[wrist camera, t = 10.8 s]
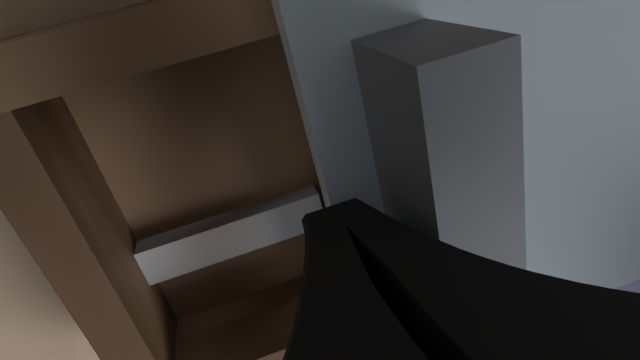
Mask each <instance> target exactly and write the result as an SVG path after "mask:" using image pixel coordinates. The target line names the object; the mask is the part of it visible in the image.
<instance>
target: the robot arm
mask: <svg viewBox="0 0 640 360" xmlns="http://www.w3.org/2000/svg"><path fill="white" fill-rule="evenodd" d="M301 221H302V225H303V228H304V235H305V254H304V267H303V276H302V283H301V289H300V294H299V300H298V306H297V310H296V315H295V319H294V323H293V327H292V331H291V334H290V338H289V341H288V345H287V348H286V351H285V354H284V357H283V360H640V279H638V280H636V281H633V282H631V283H628V284H625V285H623V286H620V287H618V288H615V289H611V288H606V287H601V286H595V285H590V284H585V283H580V282H575V281H571V280H566V279H562V278H558V277H553V276H549V275H545V274H541V273H536V272H532V271H529V270H525V269H521V268H518V267H514V266H510V265H507V264H504V263H501V262H498V261H495V260H492V259H488V258H485V257H482V256H479V255H476V254H473V253H470V252H468V251H465V250H462V249H460V248H457V247H455V246H452V245H450V244H447V243H445V242H442V241H440V240H437V239H435V238H433V237H431V236H428V235H426V234H424V233H422V232H419V231H417V230H415V229H413V228H411V227H409V226H407V225H405V224H403V223H401V222H399V221H397V220H395V219H393V218H392V217H390V216H388V215H386V214H384V213H382V212H381V211H379V210H377V209H375V208H373V207H372V206H370V205H368V204H366V203H364V202H362V201H361V200H359V199H357V198H353V199H350V200H347V201H344V202H341V203H338V204H335V205H332V206H329V207H326V208H323V209H320V210H317V211H314V212H311V213H308V214H305V215H304V217H303V219H302V220H301Z"/></svg>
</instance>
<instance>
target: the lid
mask: <svg viewBox="0 0 640 360" xmlns="http://www.w3.org/2000/svg"><path fill="white" fill-rule="evenodd" d="M271 2H272V6H273V10H274V14H275V17H276V21H277V25H278V29H279V33H280V36H281V40H282V44H283V48H284V51H285V55H286V59H287V63H288V67H289V70H290V74H291V78H292V82H293V85H294V89H295V93H296V97H297V100H298V104H299V108H300V112H301V116H302V119H303V123H304V127H305V131H306V134H307V138H308V142H309V146H310V150H311V153H312V157H313V161H314V165H315V168H316V172H317V176H318V180H319V184H320V187H321V191H322V195H323V199H324V202H325V206H326V207H329V206H332V205H335V204H338V203H341V202H344V201H347V200H350V199H353V198H357V199H359V200H361V201H362V202H364V203H366V204H368V205H370V206H372V207H373V208H375V209H377V210H379V211H381V212H382V213H384V214H386V215H388V216H390V217H392V218H393V219H395V220H397V221H399V222H401V223H403V224H405V225H407V226H409V227H411V228H413V229H415V230H417V231H419V232H422V233H424V234H426V235H428V236H431V237H433V238H435V239H437V240H440V241H442V242H445V243H447V244H450V245H452V246H455V247H457V248H460V249H462V250H465V251H468V252H470V253H473V254H476V255H479V256H482V257H485V258H488V259H492V260H495V261H498V262H501V263H504V264H507V265H510V266H514V267H518V268H521V269H525V270H529V271H532V272H536V273H541V274H545V275H549V276H553V277H558V278H562V279H566V280H571V281H575V282H580V283H585V284H590V285H595V286H601V287H606V288H611V289H615V288H618V287H620V286H623V285H625V284H628V283H631V282H633V281H636V280H638V279H640V0H271Z"/></svg>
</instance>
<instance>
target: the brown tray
mask: <svg viewBox="0 0 640 360" xmlns="http://www.w3.org/2000/svg"><path fill="white" fill-rule="evenodd" d="M0 208H1V210H2V211H3V213H4V214H5V216H6V217H7V219H8V220H9V222H10V223H11V225H12V226H13V228H14V229H15V231H16V232H17V234H18V235H19V237H20V238H21V240H22V241H23V243H24V244H25V246H26V247H27V249H28V250H29V252H30V253H31V255H32V257H33V258H34V260H35V261H36V263H37V264H38V266H39V267H40V269H41V270H42V272H43V273H44V275H45V276H46V278H47V279H48V281H49V282H50V284H51V285H52V287H53V288H54V290H55V291H56V293H57V294H58V296H59V297H60V299H61V300H62V302H63V304H64V305H65V307H66V308H67V310H68V311H69V313H70V314H71V316H72V317H73V319H74V320H75V322H76V323H77V325H78V326H79V328H80V329H81V331H82V332H83V334H84V335H85V337H86V338H87V340H88V341H89V343H90V344H91V346H92V347H93V349H94V351H95V352H96V354H97V355H98V357H99V358H100V360H283V357H284V354H285V351H286V348H287V345H288V341H289V338H290V334H291V331H292V327H293V323H294V319H295V315H296V310H297V306H298V300H299V294H300V289H301V283H302V276H303V267H304V254H305V235H304V228H303V225H302V221H301V220H302V219H303V217H304V215H305V214H308V213H311V212H314V211H317V210H320V209H323V208H326V206H325V202H324V199H323V195H322V191H321V187H320V184H319V180H318V176H317V172H316V168H315V165H314V161H313V157H312V153H311V150H310V146H309V142H308V138H307V134H306V131H305V127H304V123H303V119H302V116H301V112H300V108H299V104H298V100H297V97H296V93H295V89H294V85H293V82H292V78H291V74H290V70H289V67H288V63H287V59H286V55H285V51H284V48H283V44H282V40H281V36H280V33H279V29H278V25H277V21H276V17H275V14H274V10H273V6H272V2H271V0H152V1H148V2H145V3H141V4H137V5H133V6H130V7H126V8H122V9H118V10H114V11H111V12H107V13H103V14H99V15H96V16H92V17H88V18H84V19H81V20H77V21H73V22H69V23H65V24H62V25H58V26H54V27H50V28H47V29H43V30H39V31H35V32H32V33H28V34H24V35H20V36H17V37H13V38H9V39H5V40H1V41H0Z"/></svg>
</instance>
